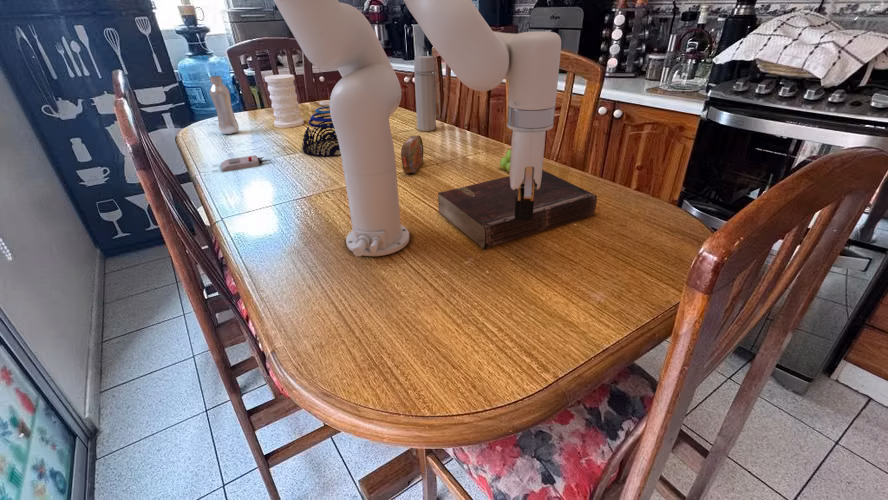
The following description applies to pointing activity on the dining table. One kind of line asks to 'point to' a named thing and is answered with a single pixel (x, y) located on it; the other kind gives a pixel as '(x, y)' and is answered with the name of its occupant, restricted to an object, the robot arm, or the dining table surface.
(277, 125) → the decorative container
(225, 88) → the plastic bottle
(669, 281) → the dining table surface
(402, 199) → the dining table surface
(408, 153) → the tin
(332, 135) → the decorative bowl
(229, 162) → the moisture meter
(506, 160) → the grapes
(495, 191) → the hardback book
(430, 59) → the water bottle
